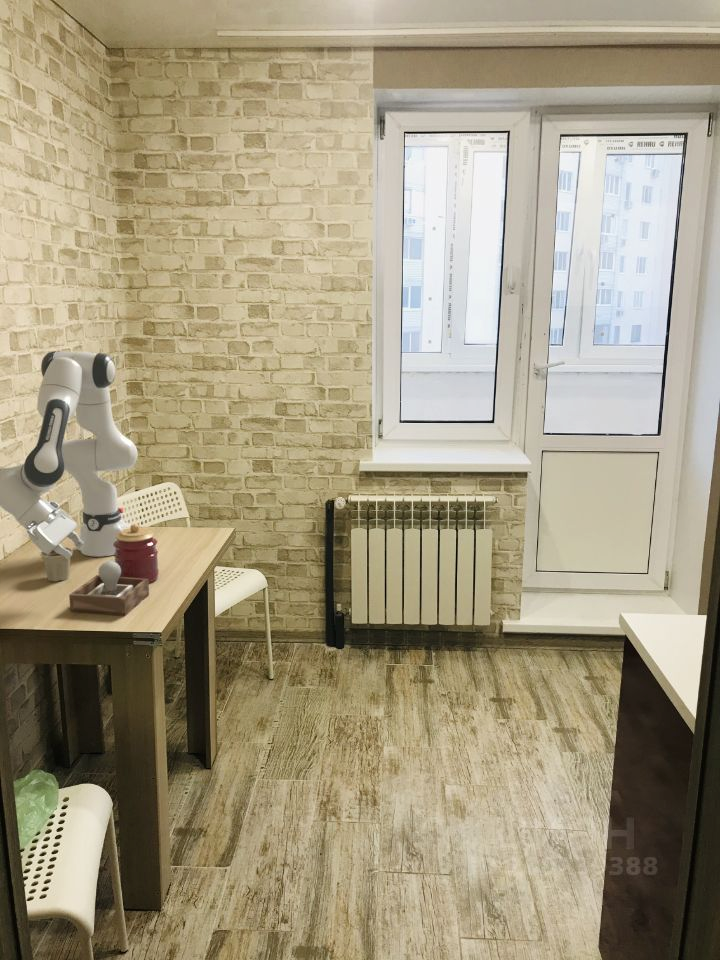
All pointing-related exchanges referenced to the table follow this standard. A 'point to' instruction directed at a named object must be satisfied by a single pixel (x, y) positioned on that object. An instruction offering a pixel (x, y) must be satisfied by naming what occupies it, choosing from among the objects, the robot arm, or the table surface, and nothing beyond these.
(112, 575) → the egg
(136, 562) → the canister
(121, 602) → the socket box
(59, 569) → the flower pot
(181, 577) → the table surface
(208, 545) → the table surface
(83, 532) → the robot arm
